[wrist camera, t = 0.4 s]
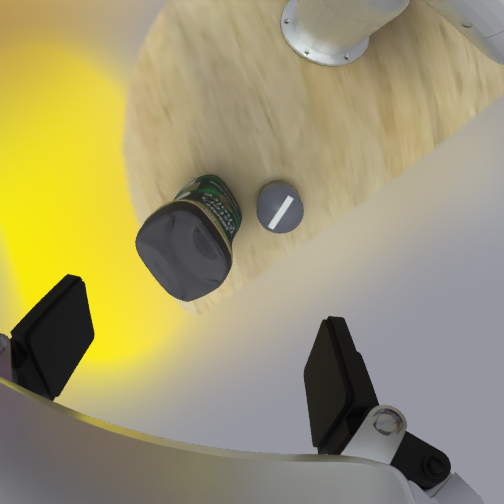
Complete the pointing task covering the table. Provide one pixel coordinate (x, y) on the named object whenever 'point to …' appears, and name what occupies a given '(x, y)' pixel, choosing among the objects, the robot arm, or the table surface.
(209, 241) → the coffee jar
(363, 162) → the table surface
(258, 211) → the lid
